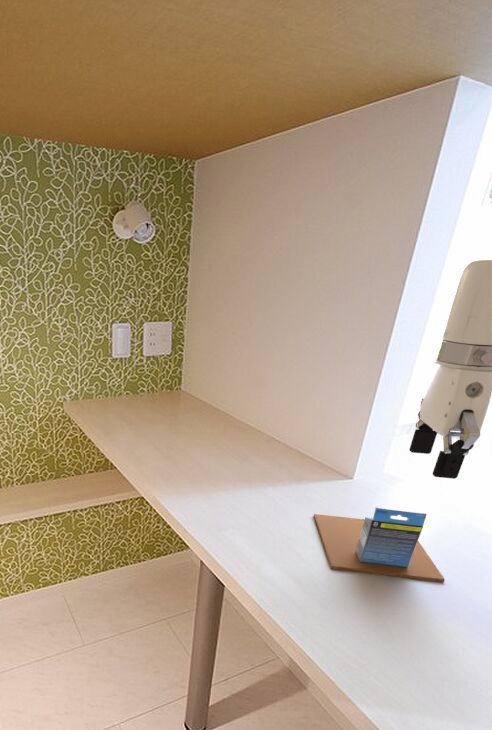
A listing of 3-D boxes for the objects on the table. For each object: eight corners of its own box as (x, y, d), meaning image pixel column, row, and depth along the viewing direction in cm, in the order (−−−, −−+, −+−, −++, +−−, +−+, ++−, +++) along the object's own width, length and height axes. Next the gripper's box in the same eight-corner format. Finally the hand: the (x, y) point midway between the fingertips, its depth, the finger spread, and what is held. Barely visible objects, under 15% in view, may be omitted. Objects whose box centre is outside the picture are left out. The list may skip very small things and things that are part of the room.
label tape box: (401, 557, 87) (419, 503, 81) (408, 569, 83) (428, 514, 78) (354, 551, 88) (369, 498, 83) (359, 563, 85) (375, 508, 79)
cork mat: (405, 525, 99) (406, 523, 98) (443, 582, 81) (444, 579, 80) (313, 516, 102) (314, 513, 101) (331, 568, 84) (331, 565, 84)
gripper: (534, 368, 54) (484, 491, 61) (467, 346, 69) (434, 446, 77) (467, 365, 55) (426, 485, 62) (416, 344, 70) (388, 442, 78)
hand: (431, 464), depth 69 cm, fingers open, 9 cm apart
